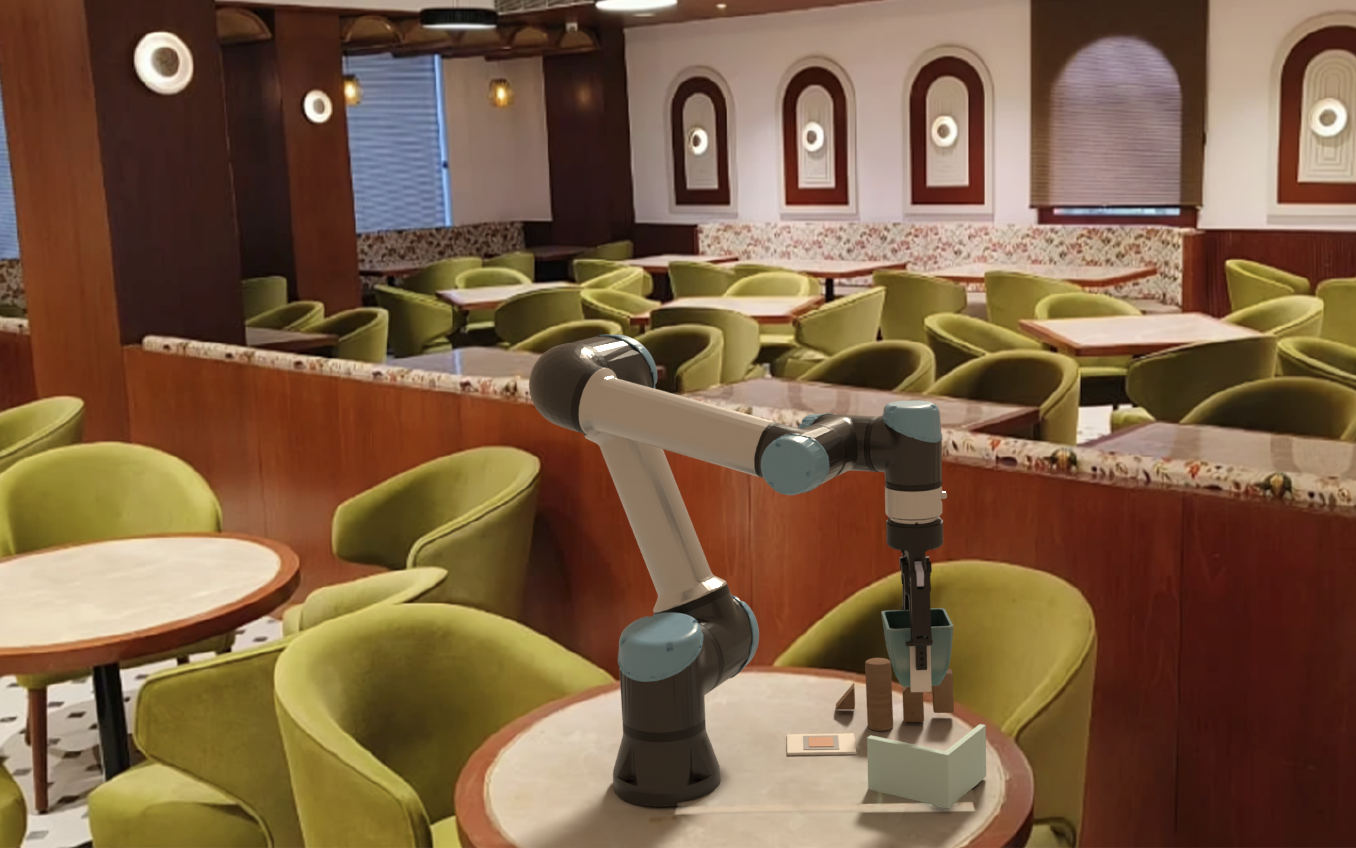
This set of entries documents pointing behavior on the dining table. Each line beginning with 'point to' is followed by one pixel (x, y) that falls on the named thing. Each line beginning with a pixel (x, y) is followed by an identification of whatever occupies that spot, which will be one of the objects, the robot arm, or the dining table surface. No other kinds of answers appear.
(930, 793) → the right angle wall
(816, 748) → the card
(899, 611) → the flower pot
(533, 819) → the dining table surface
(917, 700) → the wooden block set
